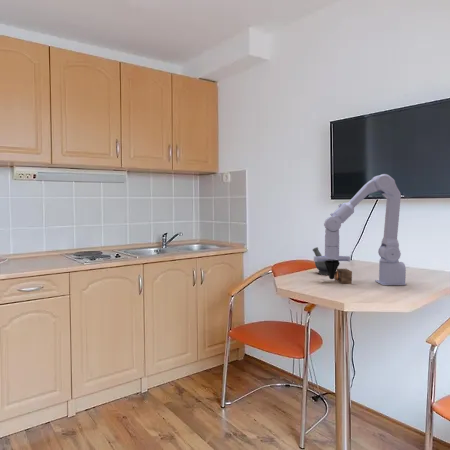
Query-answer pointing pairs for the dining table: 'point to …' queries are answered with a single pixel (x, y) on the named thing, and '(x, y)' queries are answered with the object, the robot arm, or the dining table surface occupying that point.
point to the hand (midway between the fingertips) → (331, 278)
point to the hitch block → (345, 276)
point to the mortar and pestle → (320, 263)
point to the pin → (337, 275)
